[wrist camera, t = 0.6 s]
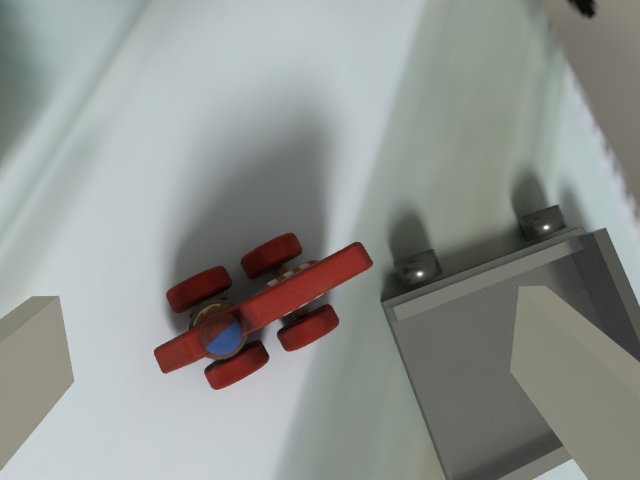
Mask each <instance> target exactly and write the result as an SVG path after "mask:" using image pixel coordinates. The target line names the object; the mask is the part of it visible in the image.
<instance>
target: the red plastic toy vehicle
mask: <svg viewBox="0 0 640 480" xmlns="http://www.w3.org/2000/svg"><path fill="white" fill-rule="evenodd" d="M301 253H302V247H301V245H300V243H299V241H298V239H297V237H296V236H295V234H293V233H287V234H284V235H282V236H279V237H277V238H275V239H273V240H271V241H269V242H267V243H265V244H263V245H261V246H259V247H257V248H256V249H254V250H252V251H251V252H249V253H248V254H246V255H245V256H244V257H243V258H242V259H241V262H240V263H241V265H242V267H243V269H244V271H245V273H246V275H247V277H248V278H250V279H255V278H257V277H260V276H262V275H264V274H266V273H268V272H270V271H272V273H273V275H274V277H275V279H273V280H272V281H270V282H268V283H266V284H265V285H264V286H263V287H262V289H261V291H260V292H259V293H258V294H257V295H255V296H253V297H251V298H249V299H247V300H245V301H243V302H242V303H240V304H238V305H236V304H234V303H232V302H230V301H228V300H227V298H226V296H225V294H224V291H226V290H228V289H229V288H230V287H231V286H232V280H231V279H230V277H229V275H228V273H227V271H226V269H225V268H224V267H223V266H217V267H214V268H211V269H208V270H206V271H204V272H201V273H199V274H197V275H195V276H193V277H191V278H189V279H187V280H185V281H183V282H181V283H179V284H178V285H176V286H174V287H173V288H171V289H170V290H169V291H168V292H167V294H166V297H167V299H168V302H169V304H170V306H171V308H172V310H173V311H174V312H175V313H182V312H185V311H187V310H188V312H189V314H190V318H191V321H190V326H189V331H187V332H185V333H183V334H181V335H179V336H178V337H176V338H174V339H172V340H170V341H168V342H166V343H164V344H163V345H161V346H159V347H157V348H156V349H155V350H154V355H155V357H156V360H157V362H158V364H159V366H160V368H161V371H162V372H163V373H166V374H167V373H169V372H171V371H174V370H176V369H179V368H181V367H184V366H186V365H189V364H191V363H194V362H196V361H198V360H200V359H201V358H203V357H207V358H211V359H217V361H215V362H213V363H212V364H210V365H209V366H207V367H206V368H205V370H204V373H205V376H206V378H207V380H208V382H209V384H210V386H211V387H212V388H213V389H215V390H219V389H222V388H224V387H227V386H229V385H231V384H233V383H235V382H237V381H239V380H241V379H243V378H245V377H246V376H248V375H250V374H252V373H253V372H255V371H257V370H258V369H260V368H261V367H262V366H264V365H265V364H266V363H267V362H268V360H269V355H268V353H267V351H266V349H265V347H264V345H263V344H262V342H261V341H259V340H256V341H253V342H251V343H248V344H246V345H244V344H245V342H246V339H247V336H248V333H250V332H252V331H255V330H257V329H260V328H262V327H264V326H266V325H268V324H269V323H271V322H273V321H275V320H276V319H278V318H280V317H283V316H285V315H287V314H289V313H291V312H292V313H293V315H294V317H295V319H296V320H294V321H292V322H291V323H289V324H287V325H286V326H284V327H283V328H281V329H280V330H279V331H278V332H277V337H278V339H279V340H280V342H281V344H282V346H283V348H284V349H285V350H286V351H294V350H297V349H300V348H302V347H304V346H306V345H308V344H310V343H312V342H314V341H315V340H317V339H319V338H321V337H322V336H324V335H326V334H327V333H329V332H330V331H332V330H333V329H334V328H336V327H337V326H338V324H339V318H338V317H337V315H336V313H335V311H334V309H333V307H332V306H331V305H329V304H326V305H323V306H321V307H319V308H317V309H314V310H312V311H310V312H308V309H307V307H306V304H308V303H309V302H311V301H313V300H315V299H316V298H318V297H320V296H321V295H323V294H325V293H326V292H327V291H329V290H331V289H332V288H334V287H336V286H338V285H340V284H342V283H343V282H345V281H347V280H349V279H351V278H352V277H354V276H356V275H358V274H360V273H362V272H364V271H365V270H367V269H369V268H370V267H371V266H372V265H373V261H372V260H371V258H370V257H369V255H368V253H367V252H366V250H365V248H364V246H363V245H362V244H361V243H360V242H354V243H352V244H350V245H349V246H347V247H345V248H344V249H342V250H340V251H338V252H336V253H334V254H332V255H330V256H328V257H326V258H325V259H323V260H321V261H315V260H314V261H308V262H306V263H304V264H302V265H300V266H299V267H297V268H294V269H293V270H290V271H288V272H287V269H286V267H285V266H284V264H285V263H287V262H288V261H290V260H292V259H294V258H295V257H297V256H298V255H300V254H301ZM243 345H244V346H243Z"/></svg>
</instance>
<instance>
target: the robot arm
mask: <svg viewBox="0 0 640 480" xmlns="http://www.w3.org/2000/svg"><path fill="white" fill-rule="evenodd" d="M510 372H511V373H512V375H513V376H514V377H515V379H516V380H517V382H518V383H519V384H520V386H521V387H522V388H523V390H524V391H525V393H526V394H527V395H528V397H529V398H530V399H531V401H532V402H533V404H534V405H535V406H536V408H537V409H538V411H539V412H540V413H541V415H542V416H543V417H544V419H545V420H546V422H547V423H548V424H549V426H550V427H551V428H552V430H553V431H554V433H555V434H556V435H557V437H558V438H559V440H560V441H561V442H562V444H563V445H564V446H565V448H566V449H567V451H568V452H569V453H570V455H571V456H572V458H573V459H574V460H575V462H576V463H577V464H578V466H579V467H580V469H581V470H582V471H583V473H584V474H585V475H586V477H587V478H588V480H640V362H639V361H638V360H636V359H635V358H634V357H633V356H631V355H630V354H629V353H628V352H626V351H625V350H624V349H623V348H622V347H620V346H619V345H618V344H617V343H615V342H614V341H613V340H612V339H610V338H609V337H608V336H607V335H606V334H604V333H603V332H602V331H601V330H599V329H598V328H597V327H596V326H594V325H593V324H592V323H591V322H589V321H588V320H587V319H586V318H585V317H583V316H582V315H581V314H580V313H578V312H577V311H576V310H575V309H573V308H572V307H571V306H570V305H569V304H567V303H566V302H565V301H564V300H562V299H561V298H560V297H559V296H557V295H556V294H555V293H554V292H553V291H551V290H550V289H549V288H548V287H546V286H519V290H518V300H517V309H516V319H515V328H514V338H513V347H512V356H511V366H510ZM73 382H74V377H73V372H72V366H71V360H70V355H69V349H68V343H67V338H66V332H65V327H64V321H63V315H62V310H61V304H60V298H59V296H35V297H31V298H29V299H28V300H26V301H25V302H24V303H22V304H21V305H20V306H18V307H17V308H15V309H14V310H13V311H11V312H10V313H9V314H7V315H6V316H4V317H3V318H2V319H0V471H1V470H2V469H3V467H4V466H5V465H6V464H7V462H8V461H9V460H10V459H11V458H12V456H13V455H14V454H15V453H16V452H17V450H18V449H19V448H20V447H21V445H22V444H23V443H24V442H25V441H26V439H27V438H28V437H29V436H30V434H31V433H32V432H33V431H34V430H35V428H36V427H37V426H38V425H39V424H40V422H41V421H42V420H43V419H44V417H45V416H46V415H47V414H48V413H49V411H50V410H51V409H52V408H53V407H54V405H55V404H56V403H57V402H58V400H59V399H60V398H61V397H62V396H63V394H64V393H65V392H66V391H67V390H68V388H69V387H70V386H71V385H72V383H73Z"/></svg>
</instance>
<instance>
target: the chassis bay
mask: <svg viewBox="0 0 640 480" xmlns="http://www.w3.org/2000/svg"><path fill="white" fill-rule="evenodd" d="M519 221H520V224H521V226H522V229H523V231H524V234H525V236H526V238H527V241H528V240H532V239H535V238H538V237H541V236H544V235H547V234H550V233H552V232H555V231H558V230H561V229H563V228H566V227H568V226H567V224H566V221H565V219H564V216H563V214H562V212H561V209H560V207H559V205H555V206H552V207H549V208H547V209H544V210H541V211H538V212H536V213H533V214H530V215H528V216H525V217H522V218H520V219H519ZM394 266H395V269H396V271H397V274H398V277H399V279H400V282H401V285H402V287H406V286H409V285H412V284H415V283H418V282H421V281H424V280H427V279H429V278H432V277H435V276H437V275H440V274H442V273H443V272H442V269H441V267H440V264H439V262H438V259H437V256H436V254H435V251H434V249H432V250H429V251H426V252H423V253H420V254H417V255H415V256H412V257H409V258H406V259H404V260H401V261H398V262H396V263H394ZM519 286H546V287H548V288H549V289H550V290H551V291H553V292H554V293H555V294H556V295H557V296H559V297H560V298H561V299H562V300H564V301H565V302H566V303H567V304H569V305H570V306H571V307H572V308H573V309H575V310H576V311H577V312H578V313H580V314H581V315H582V316H583V317H585V318H586V319H587V320H588V321H589V322H591V323H592V324H593V325H594V326H596V327H597V328H598V329H599V330H601V331H602V332H603V333H604V334H606V335H607V336H608V337H609V338H610V339H612V340H613V341H614V342H615V343H617V344H618V345H619V346H620V347H622V348H623V349H624V350H625V351H626V352H628V353H629V354H630V355H631V356H633V357H634V358H635V359H636V360H638V361H639V362H640V306H639V304H638V302H637V299H636V297H635V295H634V292H633V290H632V288H631V285H630V283H629V281H628V278H627V276H626V274H625V271H624V269H623V267H622V264H621V262H620V260H619V257H618V255H617V253H616V250H615V248H614V246H613V244H612V241H611V239H610V237H609V234H608V232H607V230H606V228H603V229H599V230H596V231H592V232H588V233H585V231H584V229H583V227H580V228H577V229H574V230H572V231H569V232H566V233H564V234H561V235H558V236H556V237H553V238H550V239H548V240H545V241H542V242H540V243H537V244H534V245H532V246H529V247H526V248H524V249H521V250H518V251H516V252H513V253H510V254H508V255H505V256H502V257H500V258H497V259H494V260H492V261H489V262H487V263H484V264H481V265H479V266H476V267H473V268H471V269H468V270H465V271H463V272H460V273H457V274H455V275H452V276H449V277H447V278H444V279H441V280H439V281H436V282H433V283H431V284H428V285H425V286H423V287H420V288H417V289H415V290H412V291H409V292H407V293H404V294H401V295H399V296H396V297H393V298H391V299H388V300H385V301H383V302H381V304H382V307H383V310H384V313H385V315H386V318H387V321H388V323H389V326H390V329H391V331H392V334H393V337H394V340H395V342H396V345H397V348H398V350H399V353H400V356H401V358H402V361H403V364H404V367H405V369H406V372H407V375H408V377H409V380H410V383H411V386H412V388H413V391H414V394H415V396H416V399H417V402H418V404H419V407H420V410H421V413H422V415H423V418H424V421H425V423H426V426H427V429H428V431H429V434H430V437H431V440H432V442H433V445H434V448H435V450H436V453H437V456H438V458H439V461H440V464H441V467H442V469H443V472H444V475H445V477H446V480H532V479H534V478H536V477H538V476H540V475H541V474H543V473H545V472H547V471H549V470H551V469H553V468H555V467H557V466H559V465H561V464H563V463H564V462H566V461H568V460H570V459H572V456H571V455H570V453H569V452H568V451H567V449H566V448H565V446H564V445H563V444H562V442H561V441H560V440H559V438H558V437H557V435H556V434H555V433H554V431H553V430H552V428H551V427H550V426H549V424H548V423H547V422H546V420H545V419H544V417H543V416H542V415H541V413H540V412H539V411H538V409H537V408H536V406H535V405H534V404H533V402H532V401H531V399H530V398H529V397H528V395H527V394H526V393H525V391H524V390H523V388H522V387H521V386H520V384H519V383H518V382H517V380H516V379H515V377H514V376H513V375H512V373H511V372H510V366H511V356H512V347H513V338H514V328H515V319H516V309H517V300H518V290H519Z"/></svg>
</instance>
